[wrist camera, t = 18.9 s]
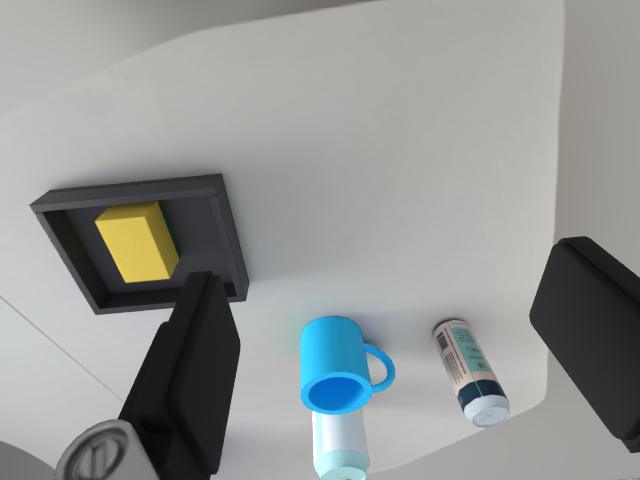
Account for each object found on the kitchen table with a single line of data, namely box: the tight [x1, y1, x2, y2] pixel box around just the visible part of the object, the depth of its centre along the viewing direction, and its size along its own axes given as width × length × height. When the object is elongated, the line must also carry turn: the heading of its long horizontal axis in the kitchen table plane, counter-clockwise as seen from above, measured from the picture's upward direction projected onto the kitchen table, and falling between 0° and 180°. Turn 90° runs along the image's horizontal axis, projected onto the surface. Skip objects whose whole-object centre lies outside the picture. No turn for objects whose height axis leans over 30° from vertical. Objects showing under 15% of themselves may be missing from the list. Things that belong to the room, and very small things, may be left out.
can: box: [313, 407, 370, 480], centre depth 48 cm, size 7×7×12 cm
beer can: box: [433, 320, 510, 428], centre depth 42 cm, size 5×5×12 cm
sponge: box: [95, 200, 181, 283], centre depth 34 cm, size 7×4×4 cm, turn 5°
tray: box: [29, 174, 249, 315], centre depth 36 cm, size 14×17×3 cm
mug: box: [301, 317, 395, 415], centre depth 43 cm, size 12×8×8 cm
